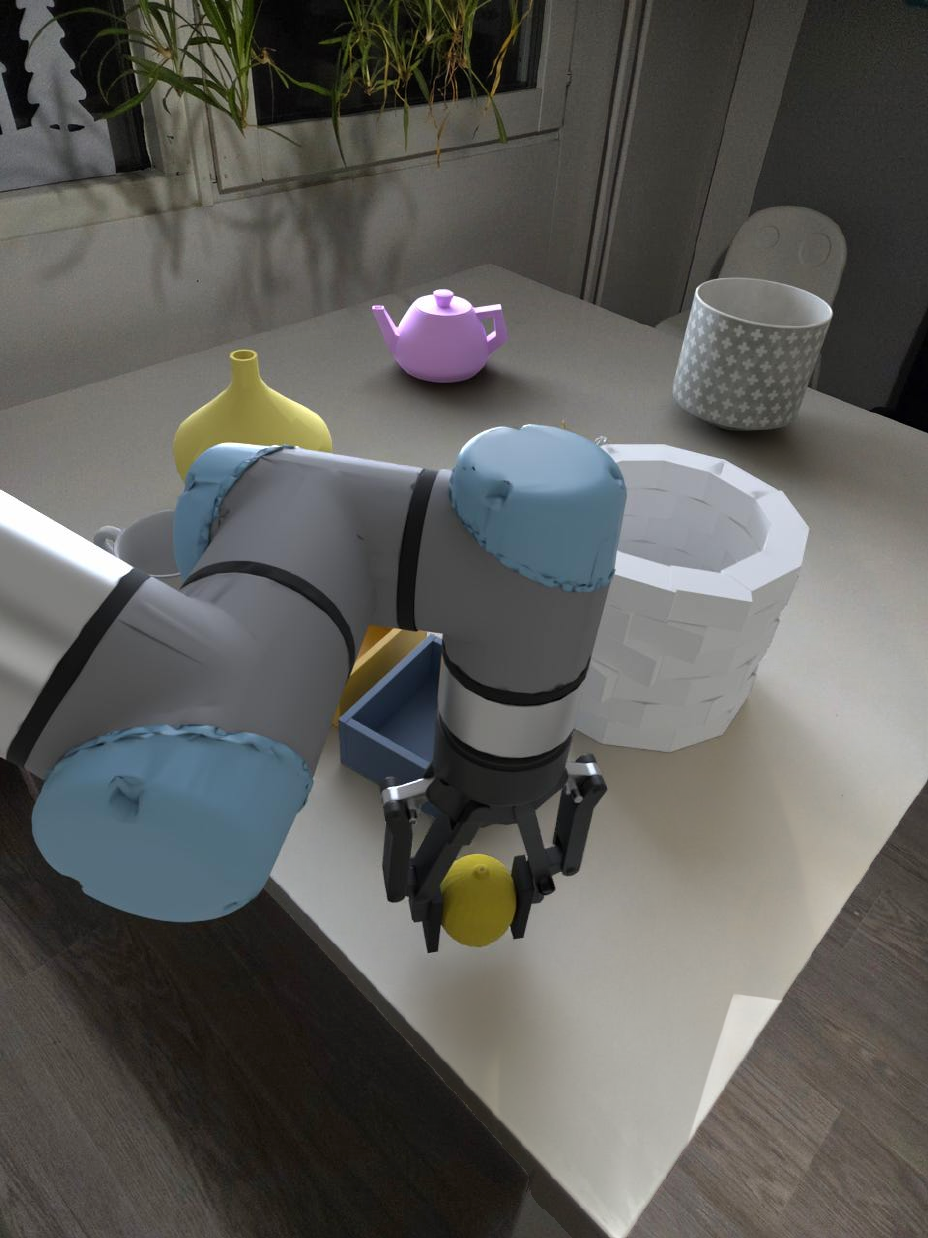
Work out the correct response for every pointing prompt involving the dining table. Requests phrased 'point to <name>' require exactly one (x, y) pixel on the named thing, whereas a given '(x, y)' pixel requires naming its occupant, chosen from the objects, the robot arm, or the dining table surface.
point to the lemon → (477, 900)
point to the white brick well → (688, 598)
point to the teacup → (145, 546)
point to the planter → (749, 352)
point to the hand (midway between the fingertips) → (472, 927)
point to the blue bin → (396, 721)
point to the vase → (248, 418)
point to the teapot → (442, 337)
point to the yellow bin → (376, 662)
